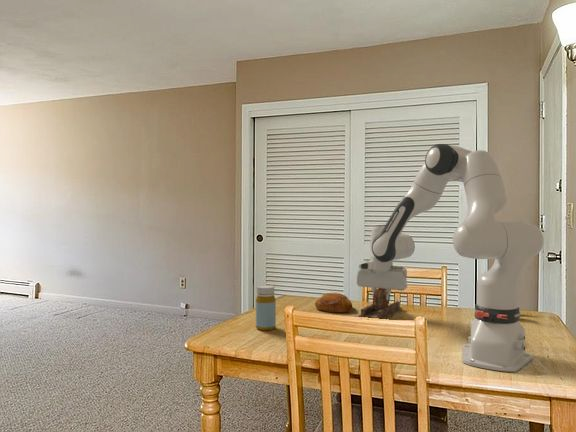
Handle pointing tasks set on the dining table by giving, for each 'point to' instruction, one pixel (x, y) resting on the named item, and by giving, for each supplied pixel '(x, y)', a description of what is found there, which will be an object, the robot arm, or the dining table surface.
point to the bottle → (265, 308)
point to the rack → (381, 311)
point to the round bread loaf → (334, 303)
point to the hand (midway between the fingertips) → (381, 299)
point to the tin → (380, 299)
